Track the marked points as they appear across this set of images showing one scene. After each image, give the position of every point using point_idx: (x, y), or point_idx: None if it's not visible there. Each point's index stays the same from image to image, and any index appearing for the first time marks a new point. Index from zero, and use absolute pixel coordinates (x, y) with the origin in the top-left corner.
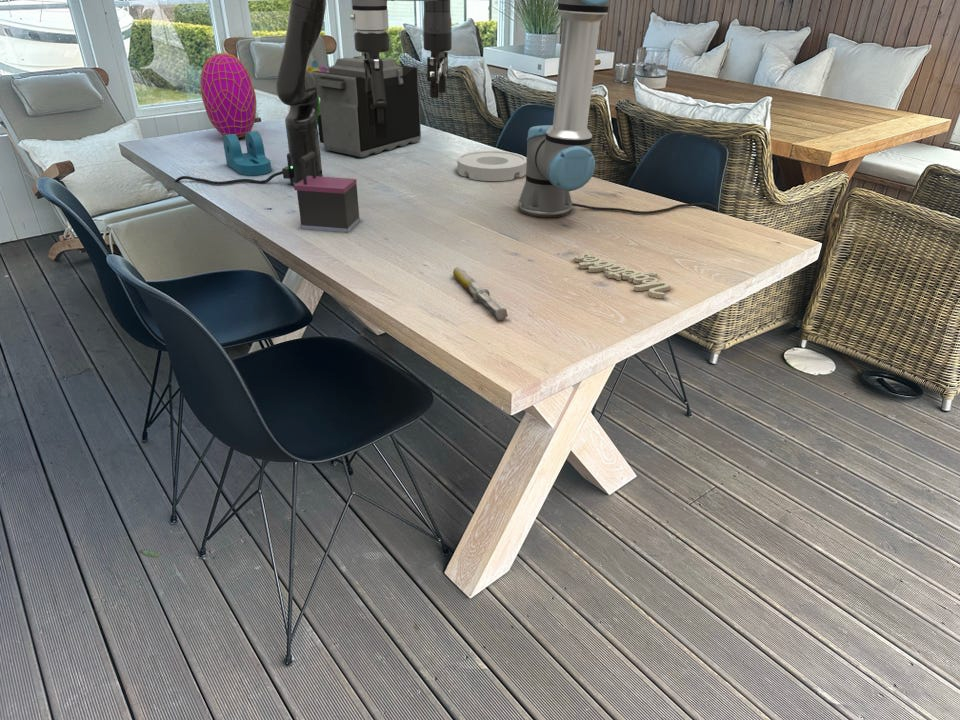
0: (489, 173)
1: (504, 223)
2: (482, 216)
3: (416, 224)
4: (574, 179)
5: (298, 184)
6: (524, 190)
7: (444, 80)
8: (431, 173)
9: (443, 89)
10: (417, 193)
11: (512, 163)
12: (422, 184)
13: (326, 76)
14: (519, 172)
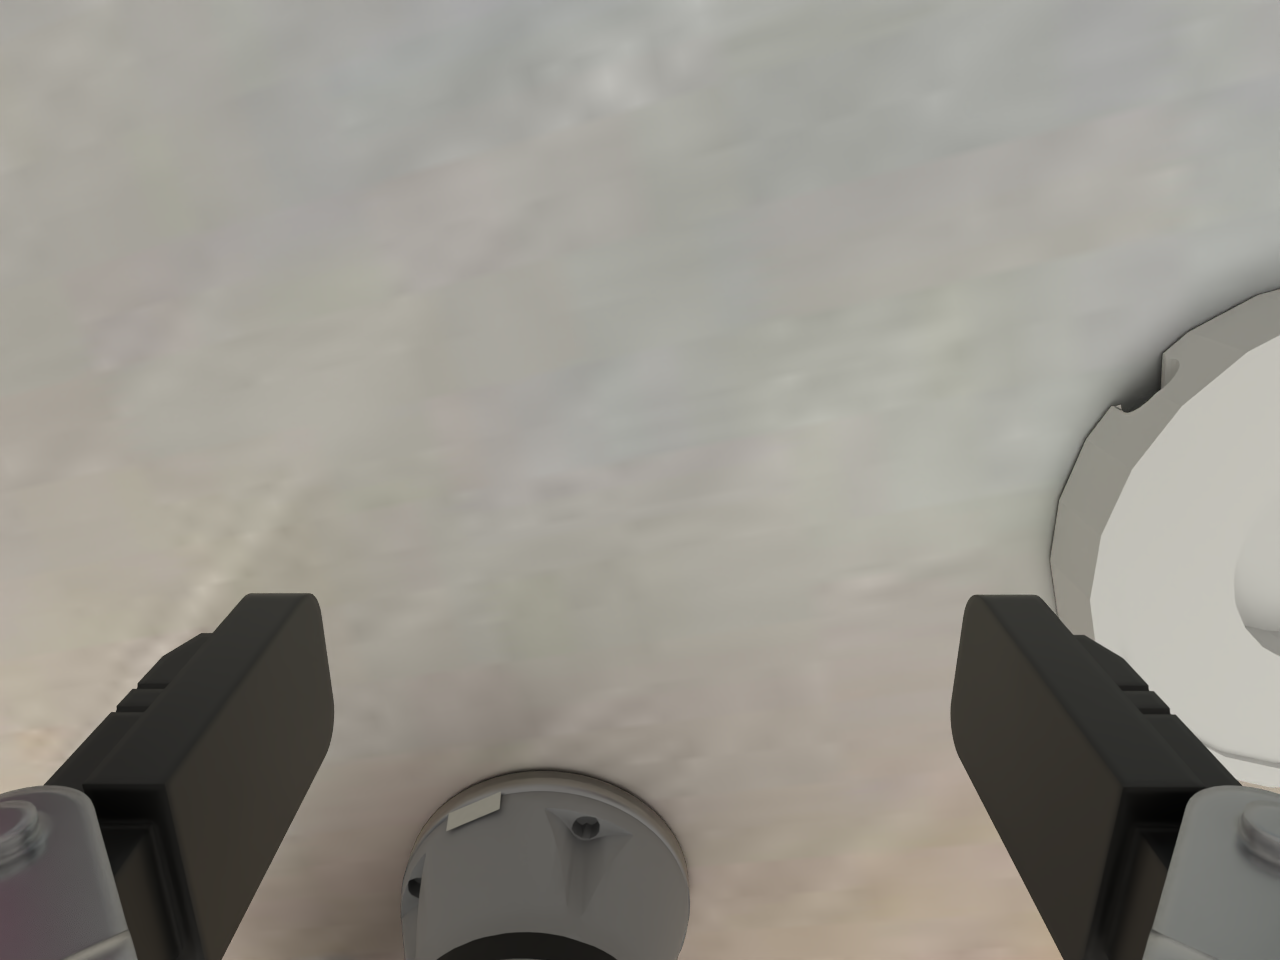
0: (1075, 570)
1: None
2: (339, 617)
3: (53, 279)
4: None
5: None
6: (474, 883)
7: (1056, 929)
8: (1270, 70)
9: (976, 742)
10: (696, 102)
11: (1267, 701)
12: (939, 77)
13: None
14: None
